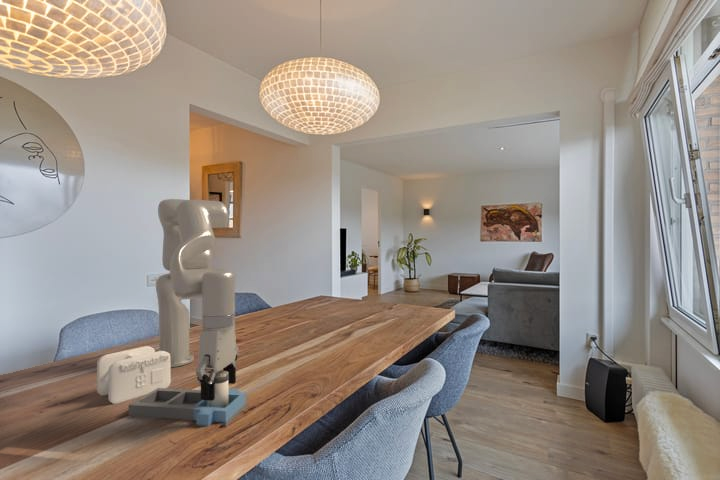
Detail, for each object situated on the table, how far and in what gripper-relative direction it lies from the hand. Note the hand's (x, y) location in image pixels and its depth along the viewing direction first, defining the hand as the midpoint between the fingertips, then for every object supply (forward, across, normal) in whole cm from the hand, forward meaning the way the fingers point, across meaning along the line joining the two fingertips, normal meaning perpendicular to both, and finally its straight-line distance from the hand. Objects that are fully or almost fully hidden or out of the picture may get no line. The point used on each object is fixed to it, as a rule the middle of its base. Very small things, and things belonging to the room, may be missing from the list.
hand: (219, 391), depth 87 cm
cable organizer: (+6, -8, -30) cm, 32 cm away
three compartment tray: (+6, 0, -8) cm, 10 cm away
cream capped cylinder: (+5, 0, 0) cm, 5 cm away
